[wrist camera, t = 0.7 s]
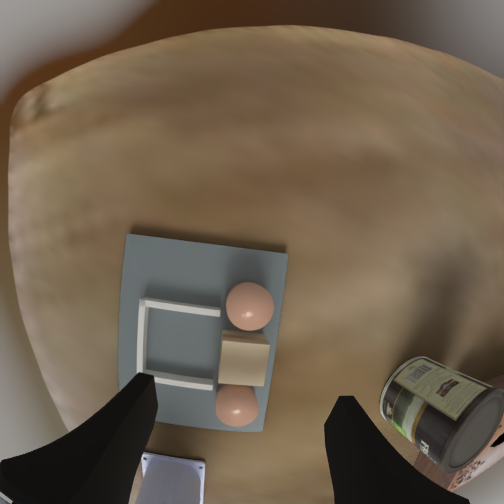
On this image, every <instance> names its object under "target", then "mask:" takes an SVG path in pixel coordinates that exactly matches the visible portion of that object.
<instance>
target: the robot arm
mask: <svg viewBox="0 0 504 504" xmlns="http://www.w3.org/2000/svg"><path fill="white" fill-rule="evenodd" d="M157 411H158V401H157V394H156V387H155V379H154V375H150V374H146V373H142V372H139V373H137V374H136V375H135V376H134V377H133V378H132V379H131V380H130V381H129V382H128V384H127V385H126V386H125V387H124V388H123V389H122V390H121V391H120V392H119V393H118V394H117V395H116V396H114V397H113V398H112V399H111V400H110V401H109V402H108V403H107V404H106V405H105V406H104V407H102V408H101V409H100V410H99V411H98V412H96V413H95V414H94V415H93V416H92V417H90V418H89V419H88V420H87V421H85V422H84V423H83V424H81V425H80V426H78V427H77V428H75V429H74V430H72V431H71V432H69V433H68V434H66V435H64V436H63V437H61V438H59V439H57V440H56V441H54V442H52V443H50V444H48V445H45V446H43V447H41V448H38V449H36V450H33V451H31V452H28V453H26V454H23V455H19V456H15V457H12V458H8V459H4V460H2V461H1V462H0V492H2V493H3V494H4V495H5V496H7V497H8V498H9V499H11V500H12V501H13V502H12V504H128V503H129V498H130V493H131V489H132V485H133V481H134V477H135V474H136V471H137V468H138V465H139V463H140V460H141V461H142V470H143V481H142V484H141V487H140V490H139V494H138V497H137V500H136V503H135V504H203V494H204V477H205V462H203V461H198V460H190V459H182V458H176V457H169V456H164V455H158V454H153V453H148V452H144V450H145V447H146V445H147V442H148V440H149V437H150V435H151V432H152V430H153V426H154V423H155V419H156V415H157ZM324 432H325V447H326V452H327V458H328V463H329V468H330V473H331V478H332V484H333V489H334V499H335V504H470V502H469V500H468V499H466V498H464V497H461V496H459V495H457V494H455V493H452V492H450V491H448V490H447V489H445V488H443V487H441V486H439V485H438V484H436V483H435V482H433V481H432V480H430V479H429V478H427V477H426V476H425V475H423V474H422V473H420V472H419V471H418V470H417V469H416V468H414V467H413V466H412V465H411V464H410V463H409V462H408V461H407V460H405V459H404V458H403V457H402V456H401V455H400V454H399V453H398V452H397V451H396V450H395V448H394V447H393V446H392V445H391V444H390V443H389V442H388V441H387V439H386V438H385V437H384V436H383V435H382V433H381V432H380V431H379V430H378V428H377V427H376V426H375V424H374V423H373V422H372V420H371V419H370V418H369V416H368V415H367V414H366V412H365V411H364V410H363V408H362V407H361V406H360V404H359V403H358V401H357V400H356V399H355V397H354V396H339V398H338V400H337V402H336V404H335V405H334V407H333V409H332V411H331V413H330V415H329V417H328V419H327V421H326V422H325V424H324ZM144 457H145V458H144ZM200 466H201V467H200ZM0 504H10V503H9V502H7V501H6V500H4V499H3V498H2V497H0Z"/></svg>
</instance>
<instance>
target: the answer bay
mask: <svg viewBox="0 0 504 504" xmlns="http://www.w3.org/2000/svg"><path fill="white" fill-rule="evenodd" d="M149 307H152V308H158V309H165V310H172V311H178V312H186V313H193V314H200V315H208V316H217V317H220V311H221V308H219V307H211V306H203V305H195V304H188V303H181V302H174V301H167V300H160V299H154V298H147V297H143V298H141V299H140V300H139V314H138V334H137V373H139V372H142V373H146V374H150V375H154V379H155V382H156V383H162V384H167V385H174V386H180V387H187V388H195V389H203V390H211V391H212V389H213V379H206V378H198V377H190V376H183V375H177V374H170V373H164V372H158V371H153V370H147V369H146V349H147V327H148V311H149Z"/></svg>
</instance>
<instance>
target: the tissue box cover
mask: <svg viewBox="0 0 504 504" xmlns="http://www.w3.org/2000/svg"><path fill="white" fill-rule="evenodd" d="M484 383H486V384H488V385H491V386H493V387H499V388H502V389H504V374H502V375H499V376H497V377H495V378H492V379H490V380H488V381H485V382H484ZM503 457H504V415H503V418H502V420H501V423H500V425H499V427H498V429H497V431H496V432H495V434H494V436H493V437H492V439H491V440H490V442H489V443H488V445H487V446H486V447H485V448H484V450H483V451H482V452H481V453H480V454H479V455H478V456H477V457H476V458H475V459H474V460H473V461H472V462H471V463H470V464H469V465H467V466H466V467H464V468H463V469H461V470H460V471H458V472H455V473H452V474H447V473H444V472H443V471H442V470H441V468H440V467H439V466H438V465H437V464H436V463H435V462H434V461H432V460H431V459H430V458H429V457H428V456H427V455H425V454H424V453H423V452H422V451H420V453H419V455H418V457H417V460H416V462H415V464H414V466H413V467H414V468H416V469H417V470H418V471H419V472H420V473H422V474H423V475H425V476H426V477H427V478H429V479H430V480H432V481H433V482H435V483H436V484H438V485H439V486H441V487H443V488H445V489H447V490H448V491H450V492H452V491H454V490H455V489H457V488H459V487H460V486H462V485H464V484H465V483H467V482H468V481H470V480H472V479H473V478H475V477H476V476H478V475H479V474H481V473H482V472H484V471H485V470H487V469H488V468H489V467H491V466H492V465H494V464H495V463H496V462H498V461H499V460H500V459H502V458H503Z"/></svg>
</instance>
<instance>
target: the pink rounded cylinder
mask: <svg viewBox="0 0 504 504" xmlns="http://www.w3.org/2000/svg"><path fill="white" fill-rule="evenodd" d="M258 412H259V406H258V402H257V399H256V395H255V391H254V388H253V386H248V385H234V384H223V383H220V384H219V385H218V387H217V389H216V415H217V417H218V418H219V419H220V421H222V422H223V423H225V424H227V425H229V426H234V427H239V426H244V425H247V424H249V423H251V422H252V421H253V420H254V419H255V418H256V417H257V415H258Z"/></svg>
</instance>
